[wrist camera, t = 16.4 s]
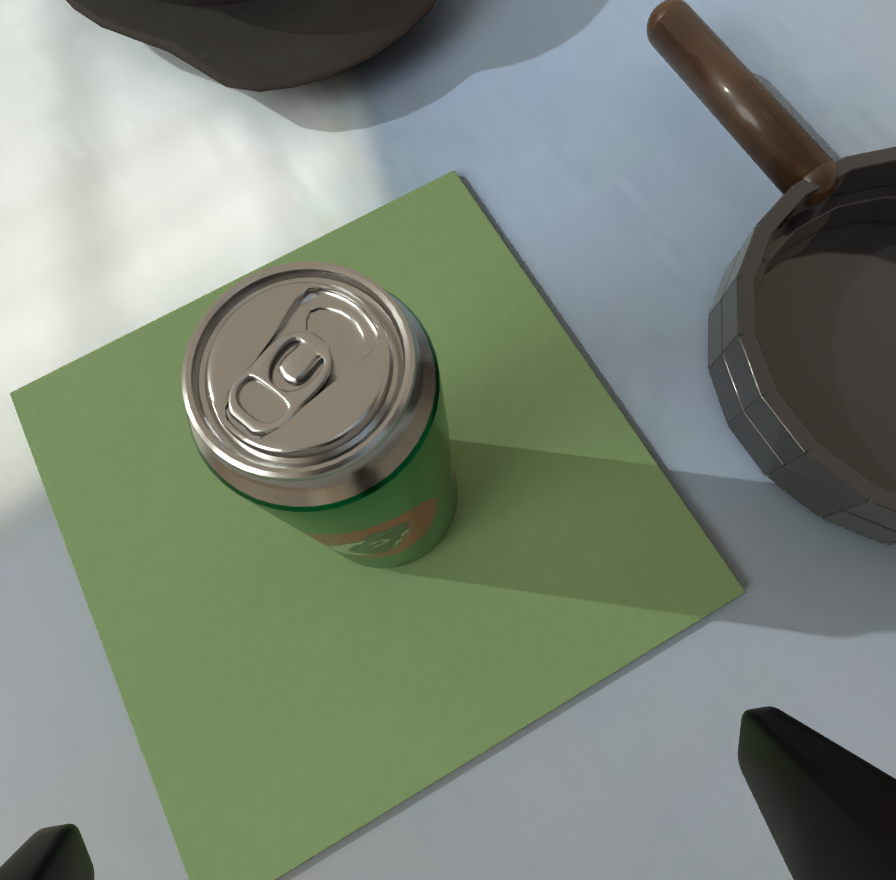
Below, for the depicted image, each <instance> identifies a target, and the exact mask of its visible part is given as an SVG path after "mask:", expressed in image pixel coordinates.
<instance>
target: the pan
mask: <svg viewBox="0 0 896 880" xmlns="http://www.w3.org/2000/svg"><path fill="white" fill-rule="evenodd" d="M835 164H836V165H837V167H838V178H839V183H838V186H837V188H836V190H835V192H834V193H833V194H832V195H831V196H830V197H829V198H828V199H827V200H826V201H824V202H823V203H821V204H819V205H816V206H813V207H804V204H805V202H806V201H807V200H808V199H809V198H810V196H811V195H812V194H813V193H815V192H816V191H817V190H818V189H819V188H820V187H821V186H819V185H815V184H812V183H810V182H808V181H807V180H805V179H803V180H801V181H799V182H797V183H795V184H794V185H792V186H791V187H790V188H789V189H788V190H787V192H786V193H785V194H784V195H783V196H782V197H781V198H780V199H779V200H778V201H777V203H776V204H775V205H774V206H773V207H772V208H771V209H770V210H769V211H768V212H767V214H766V215H765V216H764V217H763V218H762V219H761V220H760V221H759V222H758V224H757V225H756V226H755V228H754V229H753V231H752V232H751V234H750V235H749V237H748V238H747V240H746V241H745V243H744V244H743V246H742V248H741V249H740V250H739V252H738V253H737V255H736V256H735V258H734V259H733V261H732V262H731V264H730V265H729V267H728V268H727V270H726V272H725V274H724V277H723V280H722V282H721V285H720V287H719V290H718V293H717V295H716V298H715V300H714V303H713V306H712V308H711V311H710V313H709V317H708V369H709V372H710V375H711V378H712V381H713V384H714V387H715V390H716V392H717V395H718V398H719V401H720V404H721V407H722V410H723V412H724V415H725V418H726V421H727V423H728V426H729V427H730V429H731V430H732V432H733V433H734V434H735V436H736V437H737V438H738V440H739V441H740V442H741V444H742V445H743V446H744V448H745V449H746V450H747V452H748V453H749V454H750V456H751V457H752V458H753V460H754V461H755V462H756V464H757V465H758V466H759V468H760V469H761V471H762V472H763V473H764V475H767V477H768V478H769V479H771V480H772V481H773V482H775V483H776V484H777V485H779V486H780V487H781V488H783V489H784V490H785V491H786V492H788V493H789V494H790V495H792V496H793V497H794V498H796V499H797V500H798V501H799V502H801V503H802V504H803V505H805V506H806V507H807V508H809V509H810V510H811V511H812V512H814V513H815V514H816V515H818V516H820V517H821V516H822V518H823V519H825V520H828V521H830V522H833V523H835V524H838V525H840V526H842V527H845V528H847V529H850V530H852V531H855V532H857V533H860V534H862V535H865V536H867V537H870V538H872V539H874V540H877V541H879V542H882V543H886V544H888V545H896V147H892V148H887V149H882V150H877V151H872V152H867V153H862V154H857V155H852V156H847V157H844V158H842V159H840V160H838V161H836V162H835Z"/></svg>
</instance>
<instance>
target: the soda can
mask: <svg viewBox="0 0 896 880" xmlns="http://www.w3.org/2000/svg"><path fill="white" fill-rule="evenodd" d="M182 394H183V398H184V402H185V406H186V410H187V419H188V423H189V428H190V432H191V436H192V439H193V441H194V443H195V446H196V448H197V450H198V453H199V454H200V456H201V458H202V459H203V461H204V462H205V464H206V465H207V467H208V468H209V470H210V471H211V472H212V473H213V474H214V475H215V476H216V477H217V478H218V479H219V480H220V481H221V482H222V483H223V484H224V485H225V486H227V487H228V488H230V489H231V490H232V491H234V492H235V493H236V494H238V495H239V496H241V497H243V498H244V499H246V500H248V501H249V502H251V503H253V504H255V505H256V506H258V507H260V508H261V509H263V510H265V511H267V512H268V513H270V514H272V515H273V516H275V517H277V518H279V519H280V520H282V521H284V522H285V523H287V524H289V525H290V526H292V527H294V528H296V529H297V530H299V531H301V532H302V533H304V534H306V535H308V536H309V537H311V538H313V539H314V540H316V541H318V542H319V543H321V544H323V545H325V546H326V547H328V548H330V549H331V550H333V551H335V552H337V553H338V554H340V555H342V556H343V557H345V558H347V559H349V560H351V561H353V562H355V563H357V564H360V565H363V566H366V567H372V568H395V567H400V566H404V565H407V564H410V563H413V562H415V561H417V560H418V559H420V558H422V557H424V556H425V555H427V554H428V553H429V552H430V551H432V550H433V549H434V548H435V547H436V546H437V545H438V544H439V543H440V542H441V541H442V539H443V538H444V536H445V535H446V533H447V532H448V530H449V528H450V526H451V524H452V522H453V519H454V516H455V513H456V508H457V501H458V488H457V481H456V475H455V468H454V462H453V455H452V449H451V442H450V436H449V429H448V423H447V416H446V410H445V404H444V397H443V391H442V384H441V378H440V371H439V366H438V361H437V355H436V352H435V350H434V347H433V344H432V341H431V339H430V336H429V335H428V333H427V331H426V330H425V328H424V326H423V324H422V323H421V321H420V320H419V319H418V318H417V316H416V315H415V314H414V313H413V312H412V310H411V309H410V308H409V307H408V306H407V305H406V304H404V303H403V302H402V301H401V300H400V299H399V298H397V297H396V296H395V295H393V294H391V293H390V292H388V291H387V290H385V289H383V288H382V287H381V286H379V285H378V284H377V283H376V282H375V281H373V280H371V279H370V278H368V277H367V276H365V275H363V274H362V273H360V272H357V271H355V270H352V269H350V268H347V267H345V266H341V265H336V264H332V263H327V262H317V261H301V262H291V263H285V264H280V265H276V266H273V267H269V268H266V269H263V270H260V271H258V272H256V273H254V274H252V275H250V276H248V277H246V278H244V279H242V280H241V281H239V282H238V283H236V284H235V285H233V286H232V287H230V288H229V289H228V290H227V291H225V292H224V293H223V294H222V295H221V296H220V297H219V298H217V299H216V300H215V302H214V303H213V304H212V305H211V306H210V307H209V308H208V310H207V311H206V312H205V313H204V315H203V316H202V318H201V319H200V321H199V322H198V324H197V325H196V327H195V329H194V331H193V333H192V336H191V338H190V340H189V342H188V345H187V349H186V352H185V356H184V360H183V368H182Z"/></svg>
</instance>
